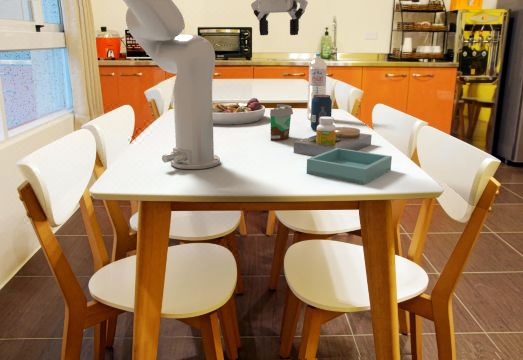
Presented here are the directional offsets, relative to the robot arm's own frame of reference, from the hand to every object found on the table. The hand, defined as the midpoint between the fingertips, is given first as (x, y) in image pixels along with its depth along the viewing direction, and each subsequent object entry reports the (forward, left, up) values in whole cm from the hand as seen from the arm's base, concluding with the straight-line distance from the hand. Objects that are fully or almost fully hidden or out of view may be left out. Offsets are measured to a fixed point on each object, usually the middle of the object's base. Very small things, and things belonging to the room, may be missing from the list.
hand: (278, 35), depth 132 cm
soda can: (+32, +4, -32) cm, 45 cm away
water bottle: (+51, +17, -32) cm, 62 cm away
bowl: (+30, +45, -32) cm, 63 cm away
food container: (+13, +7, -32) cm, 35 cm away
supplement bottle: (+5, -13, -32) cm, 35 cm away
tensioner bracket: (+10, -13, -32) cm, 36 cm away
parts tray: (-10, -28, -32) cm, 44 cm away
